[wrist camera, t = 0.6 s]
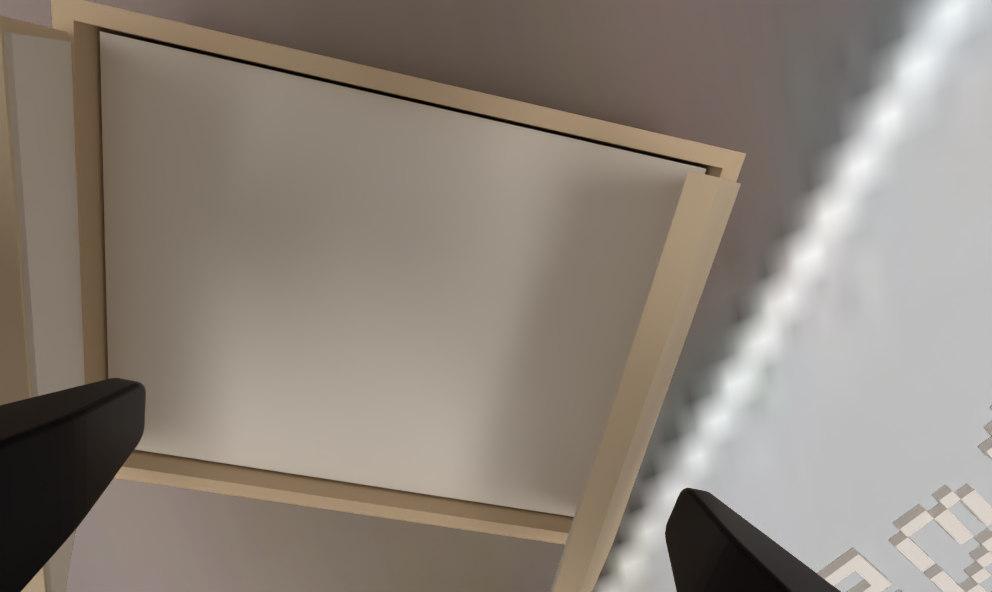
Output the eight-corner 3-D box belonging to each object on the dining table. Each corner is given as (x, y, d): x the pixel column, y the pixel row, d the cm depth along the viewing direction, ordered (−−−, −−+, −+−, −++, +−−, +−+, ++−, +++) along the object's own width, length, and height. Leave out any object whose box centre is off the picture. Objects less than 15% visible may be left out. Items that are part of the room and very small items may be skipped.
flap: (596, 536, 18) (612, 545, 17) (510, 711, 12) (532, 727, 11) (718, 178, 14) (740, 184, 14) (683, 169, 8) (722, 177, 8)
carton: (575, 449, 24) (605, 550, 18) (178, 383, 22) (74, 472, 16) (669, 143, 20) (747, 149, 14) (186, 32, 18) (50, -13, 12)
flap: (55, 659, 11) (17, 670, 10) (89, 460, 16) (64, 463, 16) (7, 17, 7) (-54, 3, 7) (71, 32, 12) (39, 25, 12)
